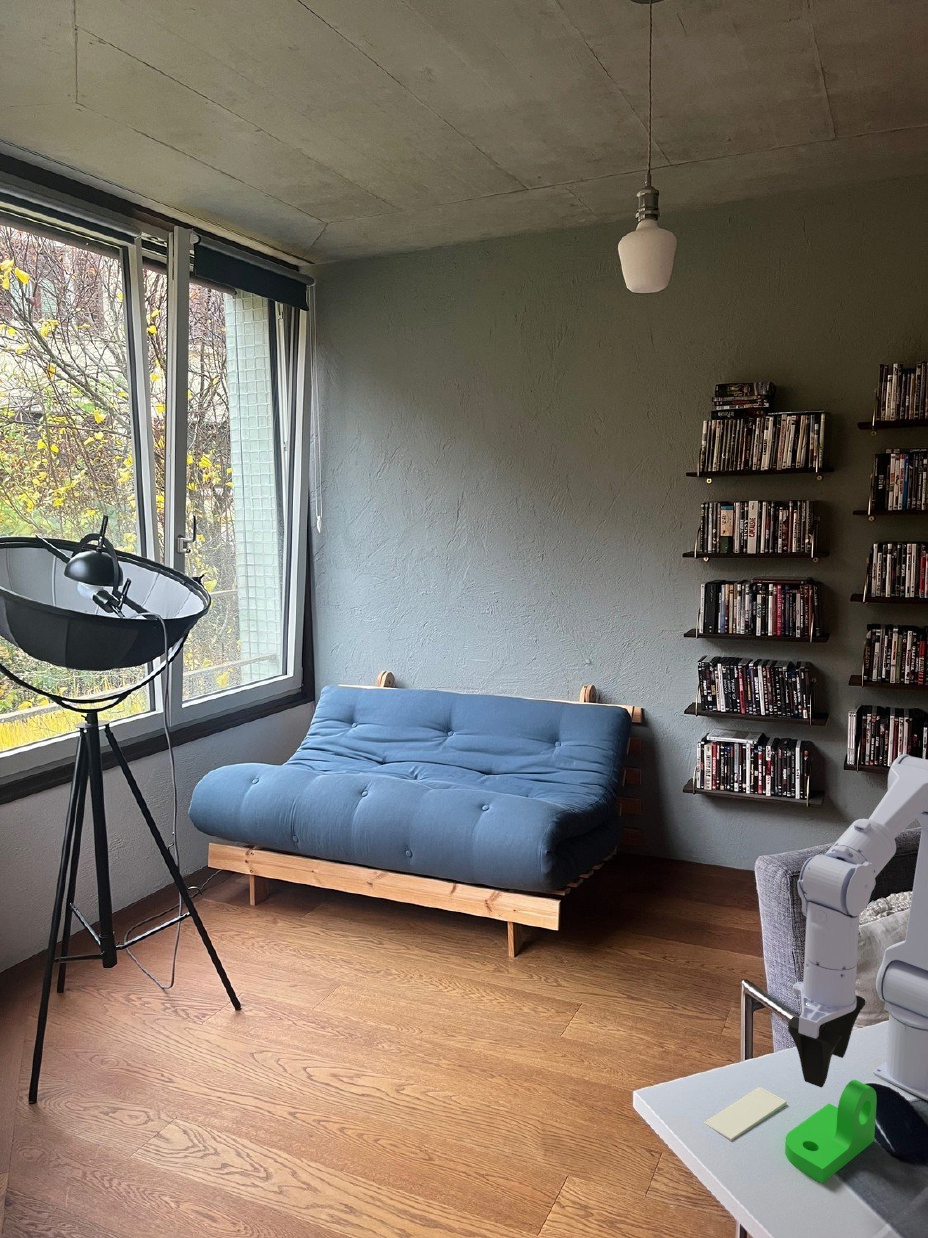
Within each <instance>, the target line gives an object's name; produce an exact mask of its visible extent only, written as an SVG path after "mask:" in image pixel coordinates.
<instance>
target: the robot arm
mask: <svg viewBox="0 0 928 1238" xmlns="http://www.w3.org/2000/svg"><path fill="white" fill-rule="evenodd" d="M915 820H917V821H918V823H919V824H920V826H921V833H920V839H919V847H918V852H917V858H916V864H915V866H916V867H915V873H914V879H913V886H912V893H911V899H910V905H909V906H910V907H909V911H908V919H907V924H906V925H907V926H906V932H905V938H904V939H905V940H902V941H899V942H897V943H894V944H892V945H890V946H888V947H887V948H885V951H884V954H883V956H882V957H883V958H882V961H881V964H880V967H879V969H878V971H877V974H876V980H875V989H876V992H877V996H878V998H879V999H880V1001H882V1002H883V1003H884V1009H883V1010H885V1011H887V1012H888V1024H887V1025H888V1027H887V1029H888V1030H887V1042H886V1043H887V1044H886V1045H887V1046H886V1059H885V1061H884V1062H883V1063H882V1064H880V1065H878V1067H876V1068H874V1069H873V1070H872V1074H873V1075H874V1076H875V1077H877V1078H880V1079H881V1080H884V1081H886V1082H887V1083H889V1084H892V1085H893V1086H896V1087H898V1088H900V1089H902V1090H904V1091H906V1092H908V1093H911V1094H913V1095H915V1096H917V1097H919V1098H921V1099H923V1100H926V1101H928V759H925V758H921V757H916V756H912V755H909V754H907V753H906V754H905V753H904V754H903V753H901V754H900V755H898V756H897V758H896V759H894V760H893V762H892V763H891V765H890V768H889V771H888V774H887V791H886V793H884V796H883V797H882V799H881V800H880V802H879V803H878V804H877V806H876V807H875V808H874V810H873V812H872V814H871V815H870V816H869V818H859V819H856V820H854V821H853V822H852V823H851V824H850V825H849V827H848V828H846V830H845V831H844V832H843V833H842V834H841V836H840V837H839V838H838V839H837V840H836V841H835V843H834V844H833V845H832V846H831V847H830V848H829V849H828V850H827V851H826V852H825V853H824V854H822V853H820V854H817V855H816V854H815V856H810V857H808V858H807V859H806V861H805V862H804V863H803V865H802V867H801V869H800V873H799V879H798V880H797V884H796V885H797V892H798V896H799V898H800V899H801V913H802V914H803V916H804V917H806V918H805V919H806V920H805V921H806V922H805V924H806V925H805V939H804V940H805V943H804V944H805V945H804V962H803V963H804V964H803V981H797V982H795V983H794V984H793V986H792V992H793V993H794V994H796V995H798V996H800V1002H801V1004H800V1005H801V1006H800V1007H801V1014H800V1015H799V1017H798V1016H797V1017H796V1016H794V1015H793V1016H792V1018H791V1019H789V1021H788V1024H787V1031H788V1034H790V1037H791V1038H792V1039H793V1042H794V1044H795V1047H796V1049H797V1053H798V1057H799V1061H800V1066H801V1071H802V1075H803V1079H804V1082H806V1083H808V1084H810V1085H814V1086H816V1087H818V1088H823V1087H824V1085H825V1084H826V1081H827V1078H828V1076H829V1075H828V1074H829V1069H830V1064H831V1059H832V1057H833V1056H835V1057H838V1058H841V1059H843V1058H844V1057H845V1055H846V1052H847V1050H848V1048H849V1047H848V1046H849V1042H850V1039H851V1035H852V1033H853V1029H854V1026H855V1023H856V1021H857V1019H858V1017H859V1014H860V1013H861V1011H862V1010H863V1008H864V1007H865V1006H866V999H865V998H864V997H862V996H860V995H857V994H856V989H857V987H856V986H857V967H858V965H857V964H858V950H859V949H858V948H859V929H860V915H861V914H862V913H863V912H864V911H865V910H866V908H867V907H868V905H869V903H870V900H871V895H872V892H873V891H874V889H875V886H876V884H877V883H876V877H877V876H878V875H879V874H880V873H881V871H883V869H884V868H885V866H886V865H887V864H888V863H889V861H891V859H892V858H893V857H894V856H895V854H896V852H897V843H896V840H895V839H896V838H897V837H898V836H899V835H900V834H901V833H902V832H903V831H905V829H906V828H908V827H909V826H910V824H912V823H913V822H914V821H915Z"/></svg>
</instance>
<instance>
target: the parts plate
mask: <svg viewBox="0 0 928 1238" xmlns="http://www.w3.org/2000/svg"><path fill="white" fill-rule="evenodd" d="M787 1103H788V1102H787V1100H785V1099H783V1098H781V1097H779V1096H777V1095H776V1094H774V1093H772V1092H770V1091H768V1090H766V1089H765V1088H763V1087H761V1086H758V1087H756V1088H755V1089H753V1090H752V1091H750V1092H749V1093H747V1094H745V1095H743V1097H741V1098H740V1099H738V1100H736V1101H735V1102H733V1103H731V1104H730V1105H728V1106H727V1107H725V1108H723V1109H722V1110H720V1111H719V1112H717V1113H716V1114H714V1115H712V1116H711V1117H710V1118H708V1119H706V1120H705V1121H703V1124H705V1125H706V1126H708V1127H709V1128H711V1129H712V1130H713V1131H714V1132H717V1133H718V1134H719V1135H720V1136H722V1137H725V1139H727V1140H728V1141H731V1142H732V1141H733V1140H735V1139H736V1138H738V1137H739V1136H741V1135H742V1134H744V1133H746V1132H747V1131H749V1130H750V1129H752V1128H753V1127H754V1126H756V1125H758V1124H760V1123H761V1122H762V1121H764V1120H765V1119H766V1118H768V1117H770V1116H771V1115H773V1114H775V1113H776V1112H777V1111H779V1110H780V1109H782V1108H783V1107H785V1106H787ZM706 1121H707V1122H706Z"/></svg>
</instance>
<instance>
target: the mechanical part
mask: <svg viewBox="0 0 928 1238" xmlns="http://www.w3.org/2000/svg"><path fill="white" fill-rule="evenodd" d="M877 1099H878V1097H877V1092H876V1090H875V1089H874V1088H873V1087H872V1086H870V1085H868V1084H865V1083H864V1082H861V1081H859V1080H857V1079H852V1080H850V1081H849V1082H848V1083H847V1085H845V1087H844V1088H843V1090H842V1093H841V1094H840V1097H839V1101H838V1105H837V1106H835V1105H833V1104H831V1103H828V1104H825V1105H824V1106H823V1107H822V1108H820V1109H819V1110H818V1111H816V1112H815V1113H813V1114H812V1115H810V1116H809V1117H808V1118H806V1119H805V1120H804V1121H802V1122H801V1123H800V1124H798V1125H797V1126H795V1127H794V1128H793V1129H791V1130H790V1131H789V1132H788V1133H787V1134H786V1136H785V1141H784V1143H785V1146H784V1154H785V1157H786V1158H787V1160H788V1162H789V1163H791V1165H792V1166H793V1167H795V1168H796V1169H798V1170H799V1171H800V1172H802V1173H804V1174H805V1175H806V1176H808V1177H810V1178H811V1179H813V1180H815V1181H816V1182H818V1183H819V1184H821V1185H823V1184H824V1183H825V1182H826V1181H828V1180H829V1178H831V1177H832V1176H833V1175H834V1174H836V1173H837V1172H838V1171H840V1170H841V1169H842V1168H843V1167H844V1166H845V1165H847V1164H848V1163H849V1162H850V1161H852V1160H853V1159H854V1158H856V1157H857V1155H859V1154H860V1153H861V1152H863V1151H864V1150H865V1149H867V1147H868V1146H870V1145H872V1144H873V1142H875V1135H876V1133H875V1132H876V1118H877V1117H876V1116H877V1101H878V1100H877Z"/></svg>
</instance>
